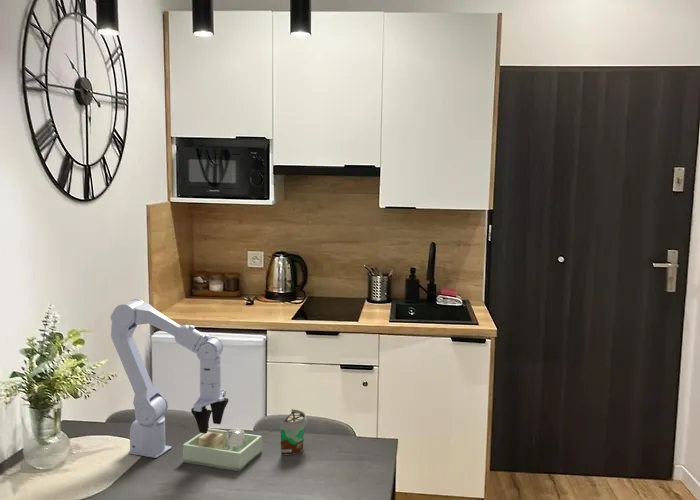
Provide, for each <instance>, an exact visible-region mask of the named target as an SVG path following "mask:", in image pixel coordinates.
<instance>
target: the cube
mask: <svg viewBox="0 0 700 500" xmlns="http://www.w3.org/2000/svg"><path fill="white" fill-rule="evenodd" d="M199 446H202V447H209V448H215V449H222V450H223V434H221V433H214V432H207V433H206V434H204V435H202V436H200V437H199Z"/></svg>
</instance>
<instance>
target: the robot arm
mask: <svg viewBox="0 0 700 500" xmlns="http://www.w3.org/2000/svg"><path fill="white" fill-rule="evenodd" d="M109 317H110V320H111V329H110V331H111V332H110V337H111V340H112V343H113V345H114V348H115V349H116V352H117V355H118V356H119V359H120V362H121V364H122V367H123V368H124V371H125V373H126V375H127V378H128V381H129V383H130V386H131V388H132V391H133V393H134V397H133V401H132V404H133V406H134V417H135V420H134V421H132V423H131V425H130V428H129V450H128V454H130V455H131V454H132V455H136V456H141V457H148V458H154V459H157V458H159V457H161V455H163V454H165V453H166V452H168V451H169V450H171V449H172V445H166V417H165V413H166V412H167V411H168V409H169V403H168V402H169V401H168V400H167V398H166V397H165V396H164V395H163V394H162V393H161V390H160V388H158V387H157V386H155V385H154V384H153V382H152V380H151V377H150V375H149V372H148V369H147V368H146V366H145V362H144V360H143V358H142V356H141V353H140V351H139V348H138V346H137V344H136V341H135V338H134V337H133V334H134V333H135V331H136V330H137V326H139V325H140V326H141V325H145V324H146V325H148V324H149V325H151V326H153V327H155V328H157V329H159V330H162V331H163V332H165V333H167V334H168V335H169V334H170V336H173V337H174V340H175V342H176V344H178V345H180V346H182V347H183V348H185V349H188V350H189V351H190V352H192V353H194V354H196V356H197V358H198V359H199V396H198V399H197V400H196V401H195V402H194V403H193V407H191V408H190V411H191V414H192V416H193V417H194V418H195V422H196V424H197V428H198V431H199V434H200V433H205V434H206V433H207V432H208V428H209V421H210V417H211V418H212V423H213V425H214V424H215V425H221V423H222V420H223V416H224V412H225V409H226V407H227V405H228V403H229V398H228V397H226V395H227V390H226V389H223V388H221V379H222V377H221V371H222V367H221V356H220V355H221V354H222V353H223V351H224V344H223V342H222V341H221V340H220V339H219V338H218V337H216V336H211V337H210V335H209V334H207V333H206V334H204V333H203V332H201V331H200V330H197V329H196V326H195V325H192V324H190V325H188V324H184V325H180V324H179V323H177V322H175V321H174V320H172V319H171V318H169V317H167V315H165V314H164V313H162V312H160V311H159V310H157V309H156V308H154V307H153V306H152V305H151V304H150V303H147V302H145V301H143V300H142V299H140V298H133V299H132V300H130V301H128V302H125V303H122V304H118V305H117V306H115V308H114V309H113V310H112V313H111V314H110V316H109ZM209 405H210V409H208V408H207V406H209ZM211 415H212V416H211Z"/></svg>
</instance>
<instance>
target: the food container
mask: <svg viewBox="0 0 700 500" xmlns="http://www.w3.org/2000/svg"><path fill="white" fill-rule="evenodd" d="M307 424H308V418H307V415H306V413H305V412H303V411H301V410H299V409H293V408H292V409H291V412H290V414H289V415H288V416H287V417H286V418H285V419H284V421H280V425H279V431H280V453H281V454H292V455H294V454H293V453H297V452H299V453H301V452H302V451H303V450H304V440H305V428H306V427H305V426H306V425H307ZM302 449H303V450H302ZM301 450H302V451H301ZM300 451H301V452H300ZM297 454H298V453H297Z"/></svg>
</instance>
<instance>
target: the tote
mask: <svg viewBox="0 0 700 500" xmlns="http://www.w3.org/2000/svg"><path fill="white" fill-rule="evenodd" d="M227 431H228V430H223V429H218V428H210V427H208V432H214V433H221V434H223V450H222V449H215V448H209V447H202V446H199V437H200V436H202V435H204V434H205V433H200V432H199V433H198V434H197V435H195V436H194V437H192V438H191V439H189V440H188V441H186V442H184V443H182V462H183V463H187V464H193V465H199V466H204V467H211V468H217V469H223V470H228V471H236V472H241V471H243V470H244V469H246V467H247V466H249V465H250V464H251V463H252V462H253V461H254V460H256V458H258V457H259V456H260V455H262V453H263V435H258V434H251V433H245V448H243V449H242V450H241V451H239V452H235V451H228V450H227V434H226V432H227ZM257 456H258V457H257Z"/></svg>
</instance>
